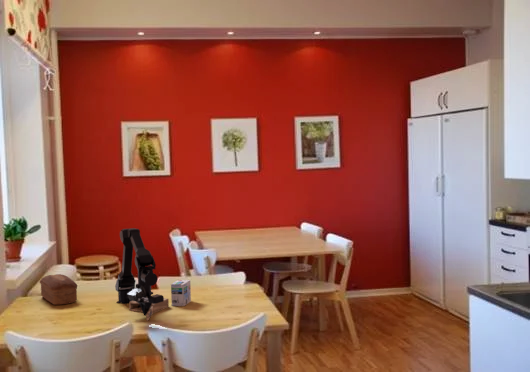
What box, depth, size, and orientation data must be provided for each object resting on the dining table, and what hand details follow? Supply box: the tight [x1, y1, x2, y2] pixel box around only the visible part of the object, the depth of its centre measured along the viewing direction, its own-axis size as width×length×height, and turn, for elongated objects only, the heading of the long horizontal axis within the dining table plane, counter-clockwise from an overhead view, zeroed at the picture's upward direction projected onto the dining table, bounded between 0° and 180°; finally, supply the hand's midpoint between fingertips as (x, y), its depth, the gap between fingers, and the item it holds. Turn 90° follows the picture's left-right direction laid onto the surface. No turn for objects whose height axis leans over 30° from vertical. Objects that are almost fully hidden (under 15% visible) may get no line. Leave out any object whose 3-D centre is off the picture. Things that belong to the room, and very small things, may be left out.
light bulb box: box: [170, 279, 192, 307], centre depth 297 cm, size 11×7×11 cm, turn 168°
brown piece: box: [128, 297, 170, 314], centre depth 288 cm, size 14×12×4 cm
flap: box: [146, 306, 154, 321], centre depth 272 cm, size 14×1×3 cm, turn 0°
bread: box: [39, 273, 78, 306], centre depth 310 cm, size 14×28×12 cm, turn 34°
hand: (145, 315), depth 272 cm, fingers closed
